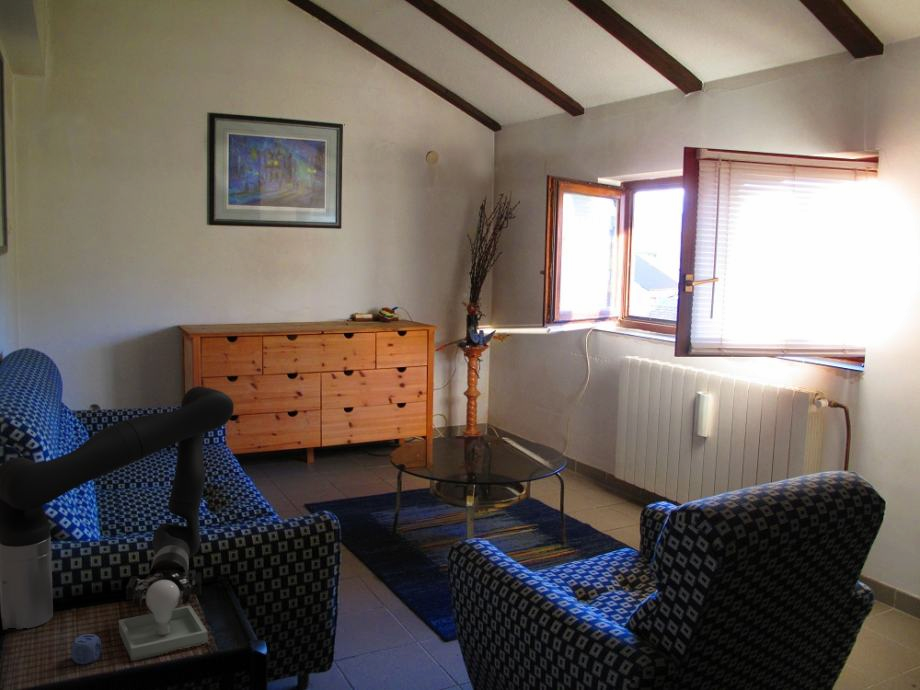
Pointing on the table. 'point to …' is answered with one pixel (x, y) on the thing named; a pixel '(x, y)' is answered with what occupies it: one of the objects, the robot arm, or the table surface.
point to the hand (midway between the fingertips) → (161, 601)
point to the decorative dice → (86, 649)
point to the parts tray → (148, 643)
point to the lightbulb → (162, 603)
